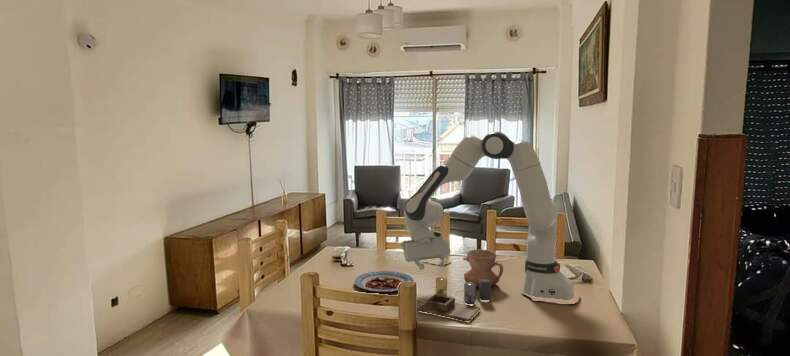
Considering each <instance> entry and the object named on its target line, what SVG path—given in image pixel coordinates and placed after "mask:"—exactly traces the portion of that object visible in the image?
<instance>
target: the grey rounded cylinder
mask: <svg viewBox="0 0 790 356" xmlns="http://www.w3.org/2000/svg"><path fill="white" fill-rule="evenodd" d="M478 288H479V289H478V292H479V293H478V298H479V299H481V300H490V299H491V297H492V296H491V295H492V294H491V293H492V286H491V281H490V280H486V279H483V280H480V285H479V287H478ZM479 299H478V300H479Z"/></svg>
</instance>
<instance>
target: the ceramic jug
mask: <svg viewBox="0 0 790 356" xmlns="http://www.w3.org/2000/svg"><path fill="white" fill-rule="evenodd" d="M466 255H467V256H463V257H462V260H463V261H467V262H468V263H469V266H470V268H471V269H469V270H468V271H466V272H465V273H463V279H464V281H465V283H466V282H473V283H475V284H476V288H479V285H480V280H483V279H486V280H490V281H491V287H493V286H496V285H497V284H498V283H499V282H500V278H501V277H502V275H503V273H504V265H503V263H501V262H499V261H496V257H497V253H496V252H495V251H492V250H490V249H471V250H469V251H467V254H466ZM495 266H498V268H499V272H498V274H497V273H496V272H494V271H493V270H492V269H493V268H494V267H495Z"/></svg>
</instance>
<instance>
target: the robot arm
mask: <svg viewBox="0 0 790 356" xmlns="http://www.w3.org/2000/svg"><path fill="white" fill-rule="evenodd" d="M484 157H487V158H490V159H493V160H500V159H501V160H502V159H505V160H507V161H508V162H509V164H510V167H511V170H512V173H513V175H514V178H515V181H516V184H517V187H518V190H519V193H520V199H521V202H522V207H523V211H524V214H525V217H526V221H527V224H528V233H527V238H526V239H527V240H526V259H525V261H524V273H525V276H524V281H523V285H522V289H521V291H522V290H523V292H524V293H526V294H528V295H530V296H535V297H543V298H555V299H563V300H570V299H572V298H573V297H574V292H575V287H574V283H573V281H572V280H571V279H570V278H569V277H568V276H566V275H565V274H564V273H563V272H562V271H561V262H557V261H556V245H557V244H556V243H557V230H558V220H559V219H558V217H559V208H558V205H557V203H556V202H555V201H554V200H553V199H552V198H551V195H550V190H549V187H548V186H549V185H548V182H547V179H546V176H545V174H544V171H543V168H542V165H541V162H540V159H539V157H538V155H537V152H536V151H535V149H534V146H533V145H532V144H531V143H530V141H527V140H524V139H523V140H516V141H512V140H511V139H510V138H509V137H508V136H507V135H506V134H505V133H503V132H501V131H492V132H489V133H487V134H485V136H484V137H483V138H479V137H477V136H475V135H466V136H464V138H463V139H461V141H460V142H459V143H458V144H457V145H456V146H455V148H454V150H453V151H452V152H451V154H450V155H449V157H448V158H447V160H445V161H444V162H443V163H442V164H441V165H439V166H437V167H436V168H435V169H434V170H433V171H432V172H431V174H430V175H429V176H428V178H426V180H425V181H424V182H423V184H422V185H421V186H420V187H419V188H418V190H417V191H416V192H415V193H414V194H413V195H412V196H411V197H410V198H408V200H407V201H406V202H405V206H404V208H405V209H404V211H403V218H404V222H405V226H406V228H407V230H408V231H409V236H410V239H409V240H403V242H401V243H400V246H401V249H402V250H403V256H404V260H405V261H406V262H407V263H411V262H414V264H415V265H416V266H417V267H418V268H419V270H420V271H422V270H423V271H424V269H425V267H426V266H424V264H425V263H424V264H423V263H422V260H429V259H436V258H439V259H440V260H441V262H440V263H439V265H440V266H439V267H440V268H444V267H445V263H444V260H446V259H445V258H448V257H449V256H450V254H451V248H450V245H449V244H448V242H447V240H446V239H445V238H444V235H443V233H442V232H439V231H434V230H431V229H430V227H433V226H435V225H437V224H439V223H440V222H441V221H442V220H443V218H444V215H445V212H444V211H445V210H444V207H443V205H442V204H441V203H439V202H437V201H433V200H430V199H431V198H432V197H433V196H434V195H435V194H436V193H437V191H438V189H439V188H440V187H441V186H443V185H445V184H448V183H452V182H461V181H464V180H466V179H467V178H469V176H471V174H472V172H473V171H474V169H475V167H476V165H477V164H478V163H479V162H480V160H481V159H482V158H484ZM420 261H421V262H420Z"/></svg>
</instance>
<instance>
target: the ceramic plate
mask: <svg viewBox="0 0 790 356" xmlns="http://www.w3.org/2000/svg"><path fill="white" fill-rule="evenodd" d="M402 281H410V282H414V283H415V279H414V277H413V276H411V275H409V274H406V273H404V272H399V271H393V270H392V271H391V270H383V271H382V270H381V271H380V270H378V271H371V272H370V271H369V272H367V273H363V274H361V275H359V276H357V277H355V279H354V284H355V286H357V287H358V288H360V289H363V290H367V291H370V292H382V293H383V292H386V293H387V292H397V291H398V290H397V289H398V285H399V283H400V282H402Z"/></svg>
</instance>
